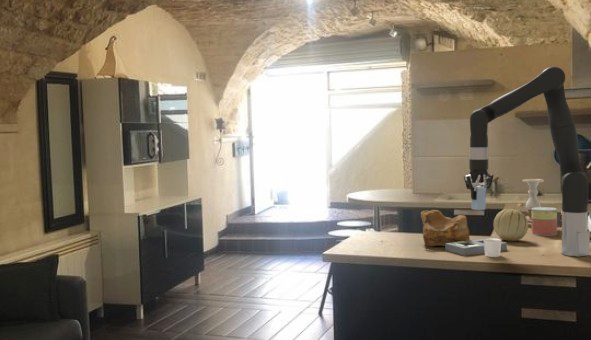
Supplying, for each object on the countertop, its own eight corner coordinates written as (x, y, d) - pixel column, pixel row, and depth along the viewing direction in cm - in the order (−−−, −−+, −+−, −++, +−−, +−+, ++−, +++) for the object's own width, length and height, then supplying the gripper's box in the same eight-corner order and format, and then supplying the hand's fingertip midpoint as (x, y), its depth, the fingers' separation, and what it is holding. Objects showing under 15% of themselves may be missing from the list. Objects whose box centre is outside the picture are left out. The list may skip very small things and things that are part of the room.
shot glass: (497, 254, 242) (497, 237, 242) (504, 258, 235) (504, 240, 235) (481, 255, 242) (480, 238, 241) (487, 258, 235) (486, 241, 235)
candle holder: (517, 225, 310) (516, 179, 308) (532, 223, 314) (532, 178, 313) (533, 228, 300) (533, 181, 298) (549, 226, 304) (549, 179, 303)
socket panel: (506, 251, 248) (506, 242, 248) (463, 256, 239) (463, 247, 239) (486, 246, 259) (486, 237, 259) (445, 251, 250) (445, 242, 250)
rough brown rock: (406, 247, 266) (404, 214, 264) (427, 238, 277) (426, 207, 275) (451, 256, 249) (450, 221, 247) (472, 246, 260) (471, 213, 258)
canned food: (561, 235, 279) (561, 209, 278) (536, 236, 279) (536, 210, 279) (551, 231, 290) (551, 206, 290) (527, 231, 291) (527, 207, 290)
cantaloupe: (490, 242, 266) (490, 209, 265) (496, 237, 279) (496, 205, 278) (526, 245, 259) (526, 210, 258) (530, 239, 272) (530, 206, 271)
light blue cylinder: (485, 209, 248) (485, 186, 247) (477, 210, 247) (477, 187, 246) (479, 208, 252) (479, 185, 251) (471, 209, 250) (471, 186, 250)
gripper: (470, 159, 241) (470, 201, 243) (498, 158, 247) (498, 199, 248) (458, 158, 248) (458, 199, 250) (486, 157, 254) (486, 197, 255)
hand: (478, 199), depth 249 cm, fingers closed on light blue cylinder, 4 cm apart
